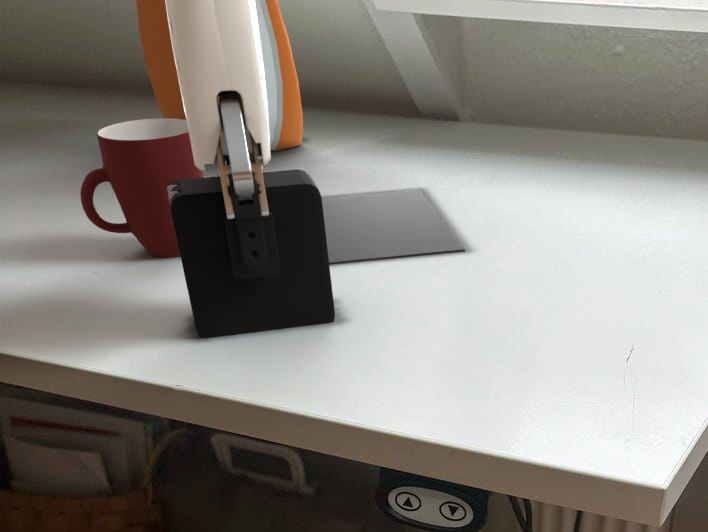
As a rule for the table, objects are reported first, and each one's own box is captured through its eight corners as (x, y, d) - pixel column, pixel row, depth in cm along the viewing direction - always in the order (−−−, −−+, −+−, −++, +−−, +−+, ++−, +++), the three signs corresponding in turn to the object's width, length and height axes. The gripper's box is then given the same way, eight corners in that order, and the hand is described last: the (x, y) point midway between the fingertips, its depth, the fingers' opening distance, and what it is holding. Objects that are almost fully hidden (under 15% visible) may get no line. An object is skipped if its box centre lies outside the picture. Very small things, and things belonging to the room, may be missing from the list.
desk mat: (231, 279, 78) (230, 272, 78) (222, 212, 93) (221, 205, 93) (465, 256, 82) (465, 249, 81) (420, 195, 97) (419, 188, 96)
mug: (116, 283, 78) (82, 150, 71) (87, 257, 83) (52, 131, 77) (235, 257, 82) (212, 130, 76) (201, 234, 87) (177, 114, 81)
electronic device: (336, 327, 70) (320, 182, 63) (199, 344, 68) (167, 196, 61) (327, 307, 73) (310, 167, 66) (195, 323, 71) (165, 180, 64)
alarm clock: (321, 149, 112) (294, -91, 97) (250, 165, 107) (210, -86, 92) (226, 121, 125) (189, -95, 110) (158, 134, 120) (110, -91, 105)
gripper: (141, -59, 61) (199, 232, 73) (133, -38, 49) (204, 311, 60) (257, -63, 63) (296, 224, 74) (279, -44, 50) (321, 299, 62)
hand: (254, 260), depth 67 cm, fingers open, 4 cm apart
